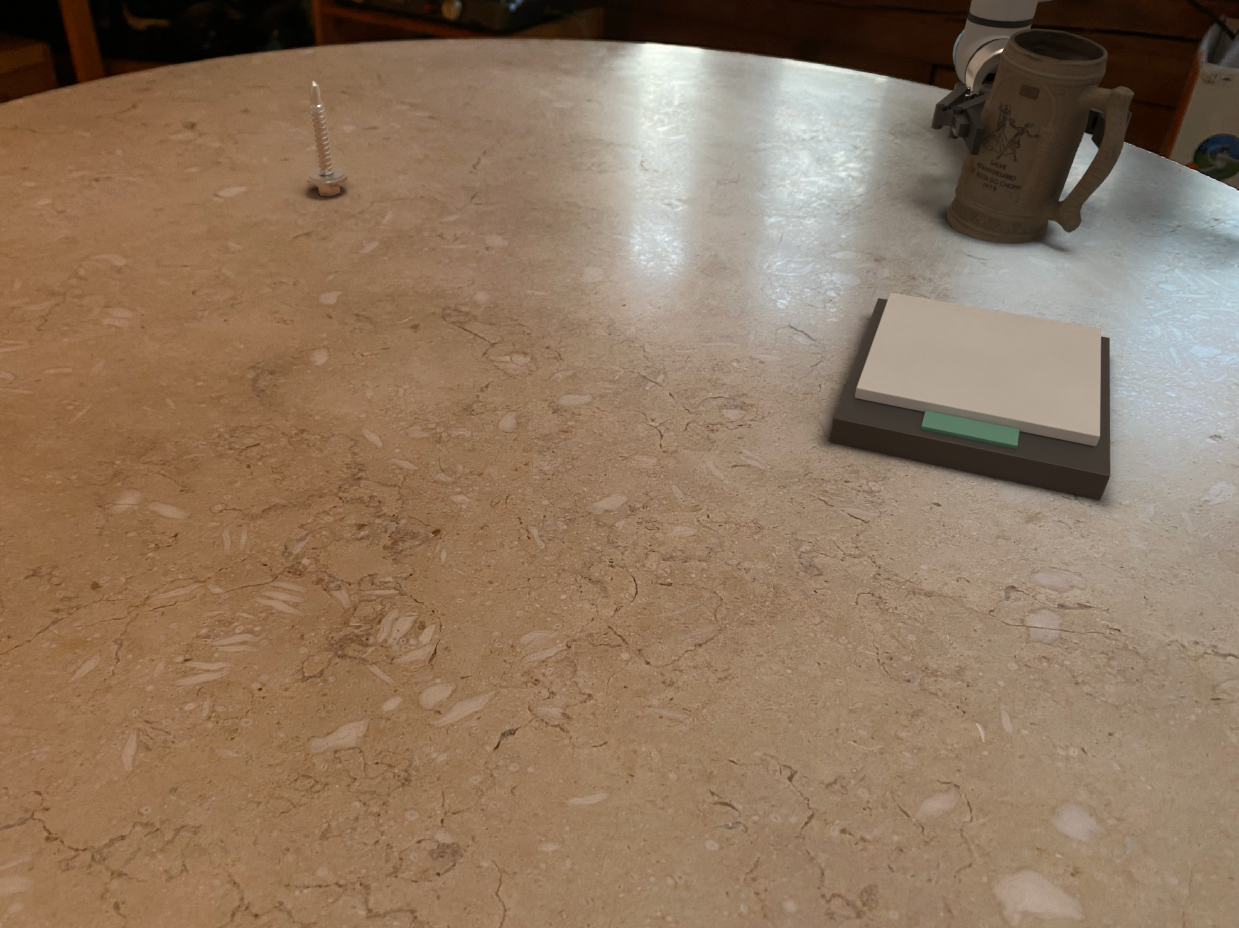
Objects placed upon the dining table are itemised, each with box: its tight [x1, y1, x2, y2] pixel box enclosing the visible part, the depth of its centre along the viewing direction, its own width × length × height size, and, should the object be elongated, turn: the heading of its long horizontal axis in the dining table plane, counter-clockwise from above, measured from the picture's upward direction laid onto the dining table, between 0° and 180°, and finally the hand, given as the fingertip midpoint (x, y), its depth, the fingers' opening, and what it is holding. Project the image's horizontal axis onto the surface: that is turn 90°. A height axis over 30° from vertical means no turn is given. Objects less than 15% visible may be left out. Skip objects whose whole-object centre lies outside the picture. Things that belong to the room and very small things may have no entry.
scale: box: [828, 292, 1111, 501], centre depth 87 cm, size 20×22×4 cm
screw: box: [305, 80, 349, 198], centre depth 121 cm, size 13×5×5 cm
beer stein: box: [946, 28, 1135, 245], centre depth 108 cm, size 15×11×20 cm
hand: (1046, 145), depth 106 cm, fingers open, 13 cm apart
